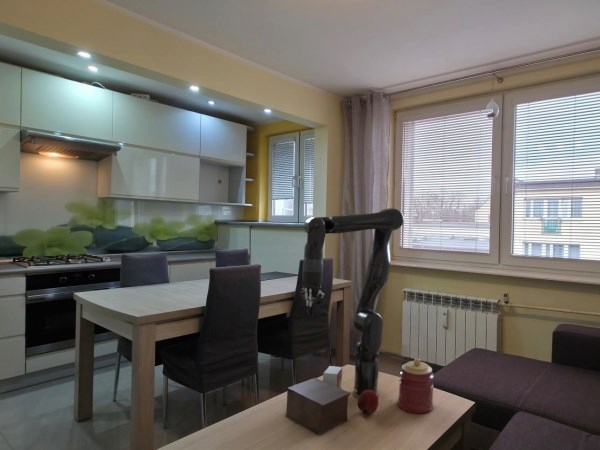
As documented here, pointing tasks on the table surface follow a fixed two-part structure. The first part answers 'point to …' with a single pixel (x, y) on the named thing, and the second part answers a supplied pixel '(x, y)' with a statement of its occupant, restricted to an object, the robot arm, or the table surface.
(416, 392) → the kitchen canister
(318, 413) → the chest
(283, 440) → the table surface
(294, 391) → the lid
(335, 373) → the small box
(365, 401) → the apple
